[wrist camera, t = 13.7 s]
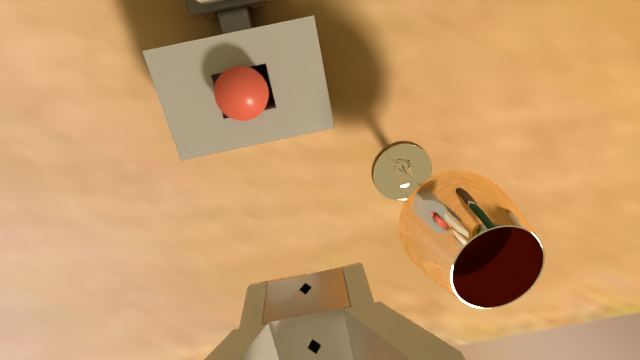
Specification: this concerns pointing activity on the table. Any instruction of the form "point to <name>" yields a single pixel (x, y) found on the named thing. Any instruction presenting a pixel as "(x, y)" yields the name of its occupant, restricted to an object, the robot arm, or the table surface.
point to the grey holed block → (255, 52)
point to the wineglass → (460, 229)
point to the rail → (235, 19)
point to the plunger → (241, 93)
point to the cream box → (218, 6)
